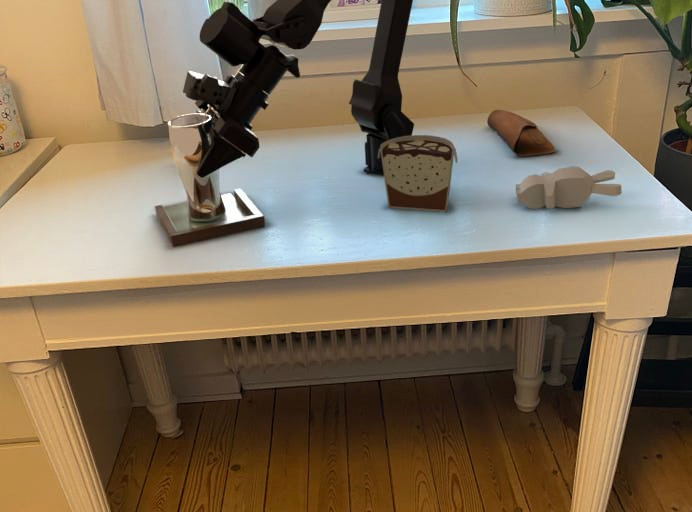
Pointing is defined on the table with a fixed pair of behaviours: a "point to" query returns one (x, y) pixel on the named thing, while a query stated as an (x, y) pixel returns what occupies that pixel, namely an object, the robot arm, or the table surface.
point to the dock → (188, 231)
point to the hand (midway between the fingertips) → (194, 168)
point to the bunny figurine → (564, 188)
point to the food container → (418, 171)
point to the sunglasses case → (519, 134)
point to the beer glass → (196, 165)
